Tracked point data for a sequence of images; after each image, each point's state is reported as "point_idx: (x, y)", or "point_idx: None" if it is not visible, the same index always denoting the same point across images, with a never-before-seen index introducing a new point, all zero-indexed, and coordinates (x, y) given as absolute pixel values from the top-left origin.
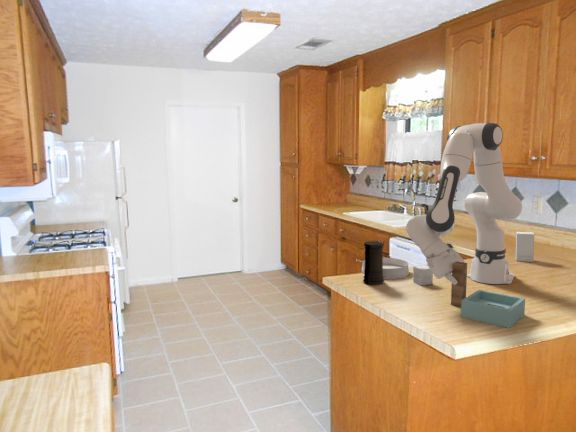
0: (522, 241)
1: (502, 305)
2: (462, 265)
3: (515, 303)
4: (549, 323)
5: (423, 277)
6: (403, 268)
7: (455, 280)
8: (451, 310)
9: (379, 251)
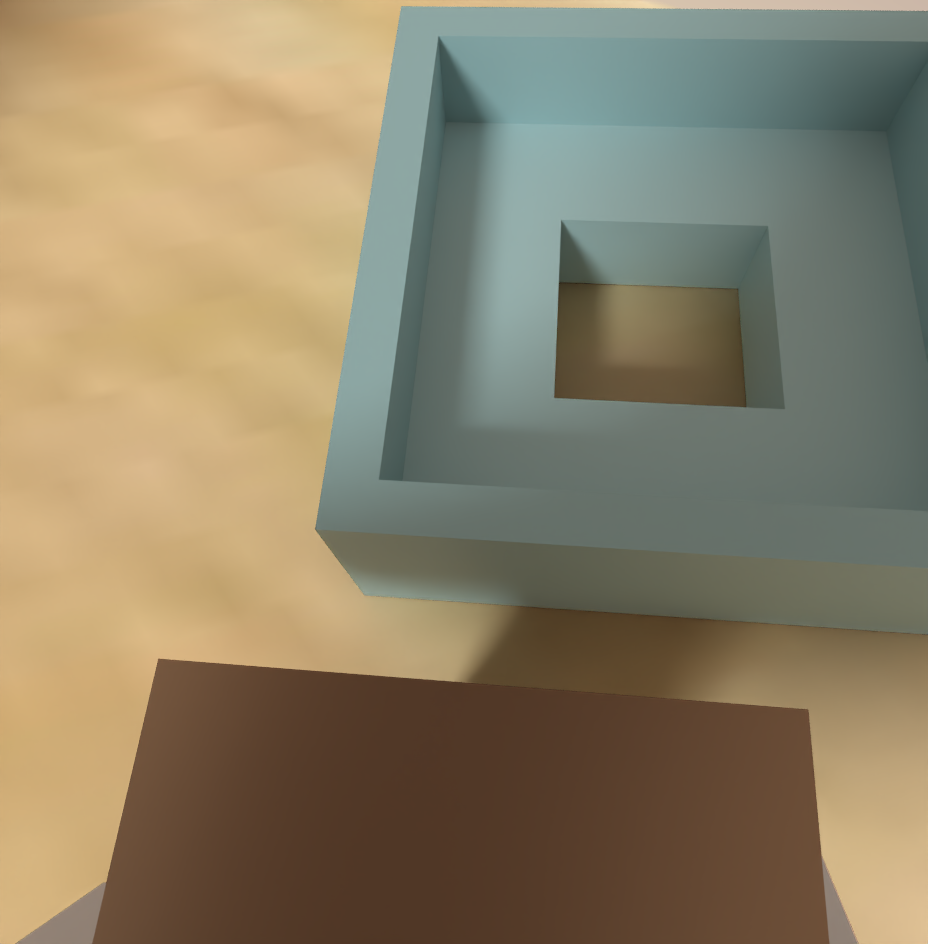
0: None
1: (513, 253)
2: (795, 744)
3: (667, 32)
4: (516, 4)
5: None
6: None
7: (838, 910)
8: None
9: None
